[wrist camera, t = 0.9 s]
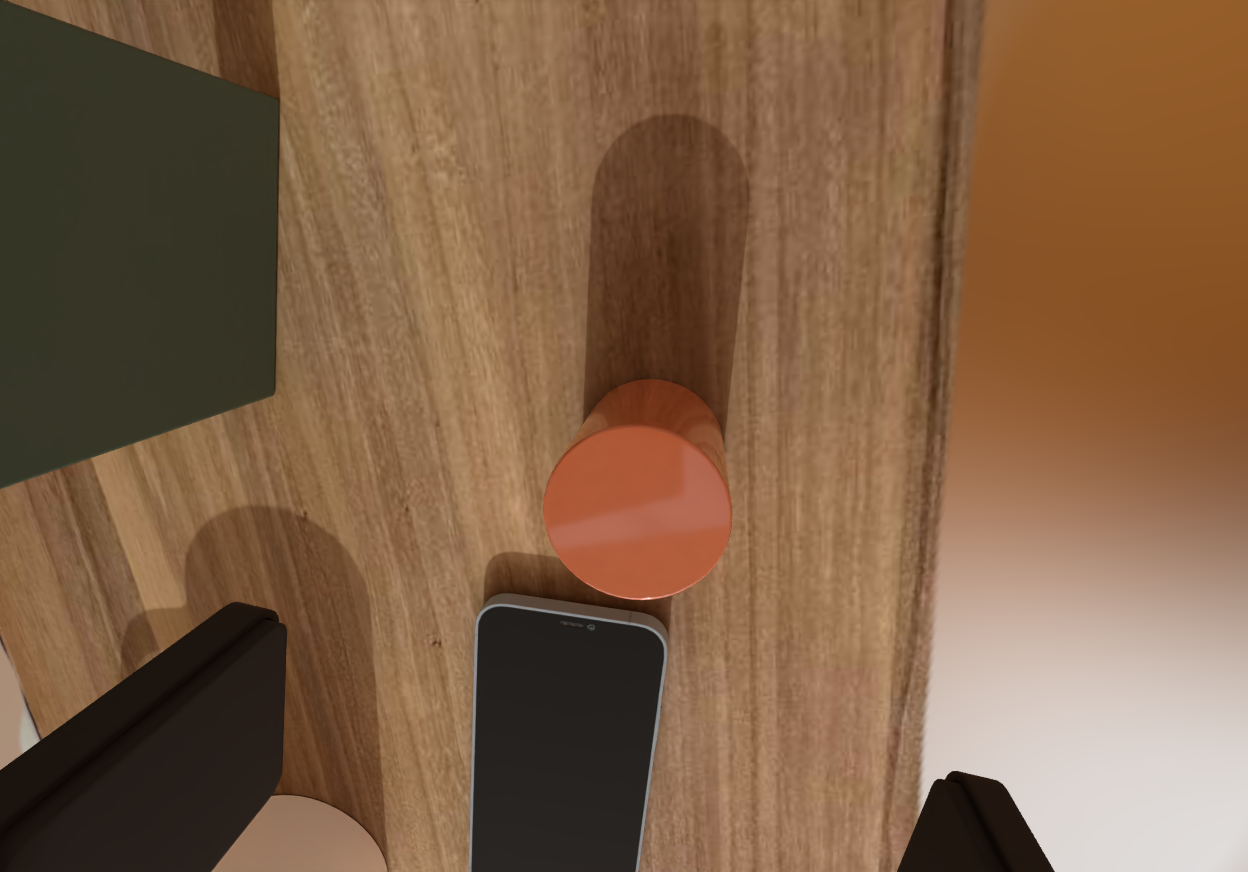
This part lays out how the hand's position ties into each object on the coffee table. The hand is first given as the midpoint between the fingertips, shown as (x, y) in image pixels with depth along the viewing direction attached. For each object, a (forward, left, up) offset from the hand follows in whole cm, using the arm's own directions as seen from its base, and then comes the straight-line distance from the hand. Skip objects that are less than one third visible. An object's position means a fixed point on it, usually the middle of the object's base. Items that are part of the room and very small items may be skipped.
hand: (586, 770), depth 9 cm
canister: (0, 0, -14) cm, 14 cm away
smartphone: (+14, -1, -14) cm, 20 cm away
